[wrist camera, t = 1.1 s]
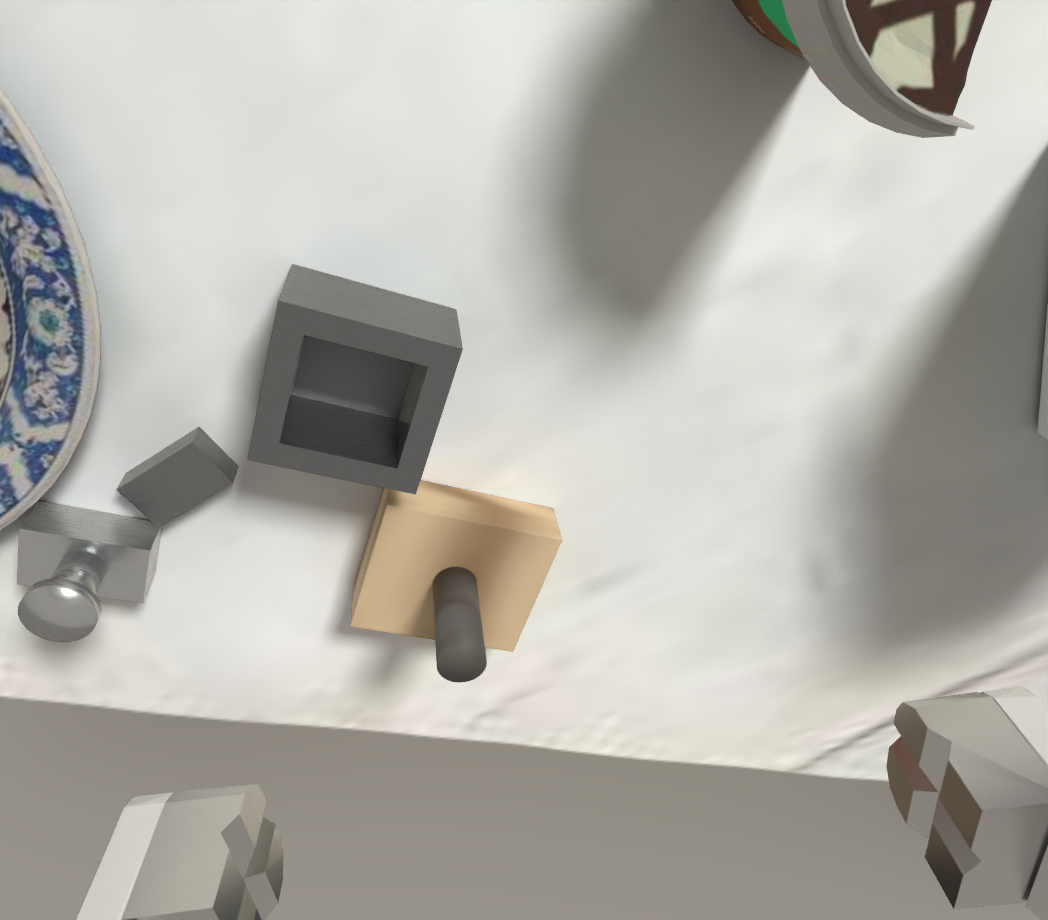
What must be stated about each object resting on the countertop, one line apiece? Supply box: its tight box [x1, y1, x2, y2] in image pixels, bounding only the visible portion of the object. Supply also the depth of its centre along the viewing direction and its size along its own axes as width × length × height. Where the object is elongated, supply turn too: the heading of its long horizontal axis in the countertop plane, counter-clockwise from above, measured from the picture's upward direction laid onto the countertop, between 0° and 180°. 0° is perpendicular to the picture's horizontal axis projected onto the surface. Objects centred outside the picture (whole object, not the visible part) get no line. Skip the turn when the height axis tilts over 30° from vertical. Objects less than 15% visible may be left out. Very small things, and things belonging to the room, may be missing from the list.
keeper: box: [350, 480, 562, 682], centre depth 35 cm, size 8×7×8 cm
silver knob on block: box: [17, 501, 162, 642], centre depth 33 cm, size 5×3×5 cm, turn 71°
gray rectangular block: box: [117, 427, 239, 528], centre depth 34 cm, size 4×2×2 cm, turn 121°
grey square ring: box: [247, 264, 463, 495], centre depth 31 cm, size 6×6×4 cm
